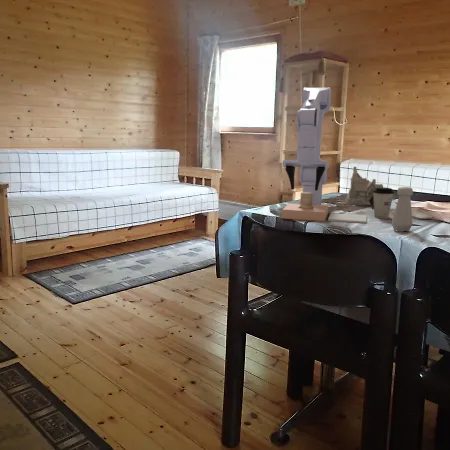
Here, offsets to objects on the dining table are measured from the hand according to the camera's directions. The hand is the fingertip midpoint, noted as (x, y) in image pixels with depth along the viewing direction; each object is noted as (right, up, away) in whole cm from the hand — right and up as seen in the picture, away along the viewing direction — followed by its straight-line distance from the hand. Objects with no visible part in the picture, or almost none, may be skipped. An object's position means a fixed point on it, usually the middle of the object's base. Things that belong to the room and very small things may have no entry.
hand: (304, 189), depth 150 cm
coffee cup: (+28, -9, +9) cm, 31 cm away
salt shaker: (+27, -13, -13) cm, 32 cm away
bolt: (+32, -6, +25) cm, 41 cm away
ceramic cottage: (+32, -2, +43) cm, 54 cm away
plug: (+2, -8, +9) cm, 12 cm away
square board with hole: (+2, -8, +9) cm, 12 cm away
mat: (+15, -9, +5) cm, 19 cm away
